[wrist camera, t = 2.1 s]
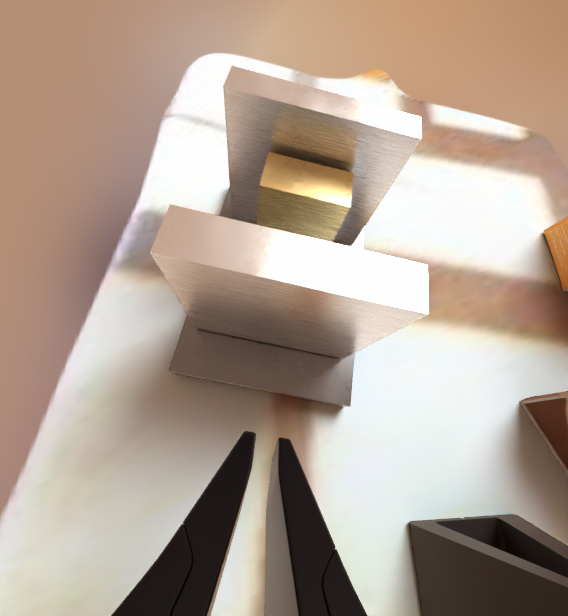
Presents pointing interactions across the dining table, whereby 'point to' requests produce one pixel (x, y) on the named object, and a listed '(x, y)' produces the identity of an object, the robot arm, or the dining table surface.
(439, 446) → the dining table surface
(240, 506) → the robot arm
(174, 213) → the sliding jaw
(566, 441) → the brown cake slice
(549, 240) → the small box
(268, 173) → the brass block
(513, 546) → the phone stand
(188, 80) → the dining table surface
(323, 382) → the vise base
